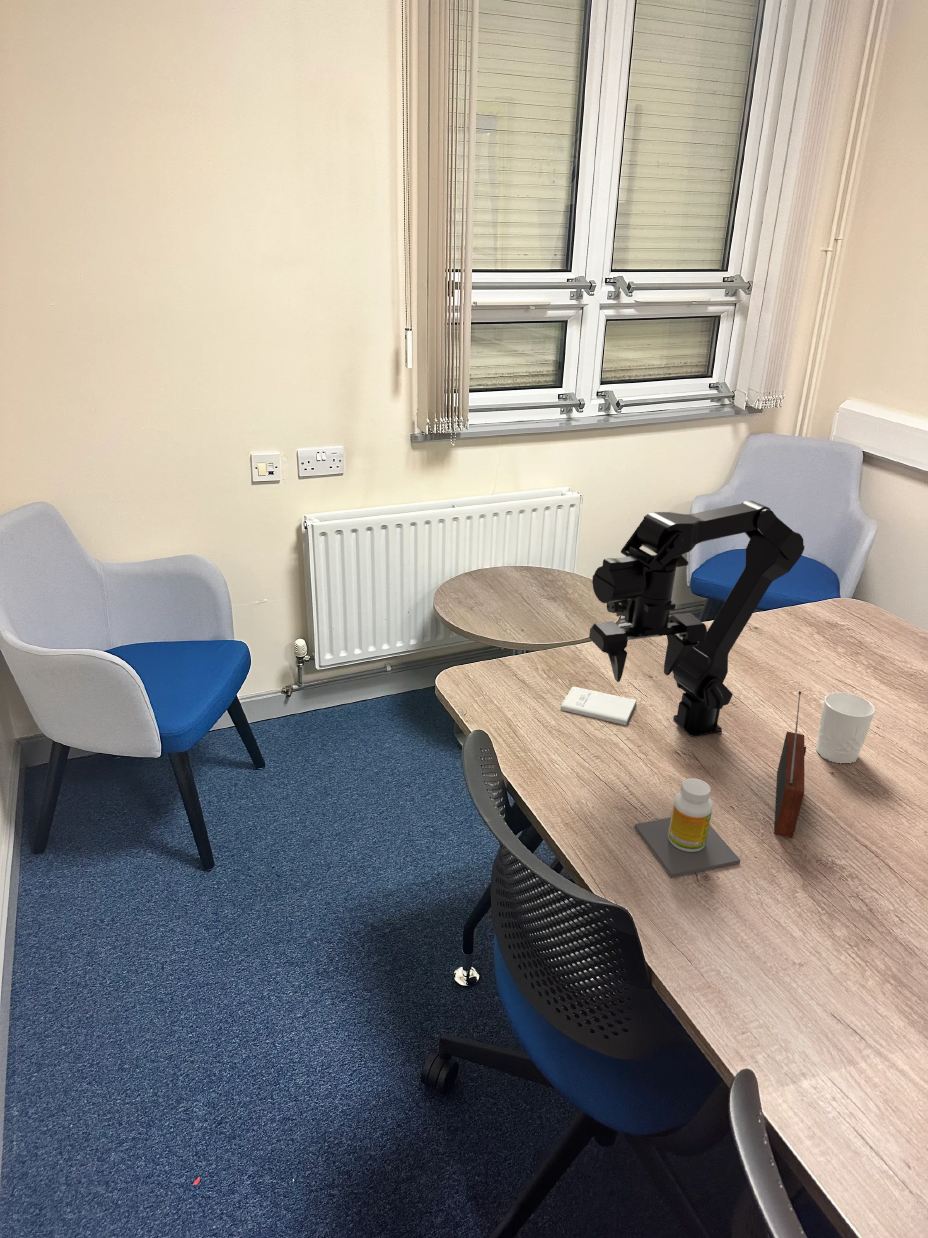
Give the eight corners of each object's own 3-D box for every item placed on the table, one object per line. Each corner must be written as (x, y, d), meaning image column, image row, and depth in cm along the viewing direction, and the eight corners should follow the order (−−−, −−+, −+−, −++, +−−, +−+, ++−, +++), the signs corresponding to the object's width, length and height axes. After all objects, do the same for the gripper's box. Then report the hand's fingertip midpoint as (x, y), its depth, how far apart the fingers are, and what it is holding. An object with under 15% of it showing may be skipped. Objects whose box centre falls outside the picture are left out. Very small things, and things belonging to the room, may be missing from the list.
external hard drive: (626, 728, 151) (560, 712, 155) (635, 706, 158) (572, 692, 162) (627, 720, 150) (560, 704, 154) (637, 699, 157) (573, 684, 161)
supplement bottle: (706, 856, 119) (717, 801, 115) (668, 850, 120) (677, 795, 116) (704, 831, 124) (714, 778, 120) (667, 826, 125) (676, 772, 121)
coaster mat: (698, 815, 128) (698, 812, 128) (739, 863, 119) (740, 860, 119) (634, 827, 125) (634, 824, 125) (671, 877, 116) (672, 874, 116)
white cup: (861, 747, 146) (875, 698, 142) (860, 771, 140) (874, 721, 136) (813, 736, 149) (826, 687, 145) (810, 759, 143) (823, 709, 139)
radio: (795, 840, 124) (817, 756, 117) (773, 835, 125) (794, 751, 118) (796, 771, 140) (815, 693, 133) (777, 767, 141) (795, 690, 134)
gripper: (679, 568, 143) (666, 649, 150) (579, 578, 138) (571, 661, 144) (715, 594, 133) (700, 679, 140) (609, 606, 128) (599, 693, 135)
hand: (641, 677), depth 140 cm, fingers open, 9 cm apart
